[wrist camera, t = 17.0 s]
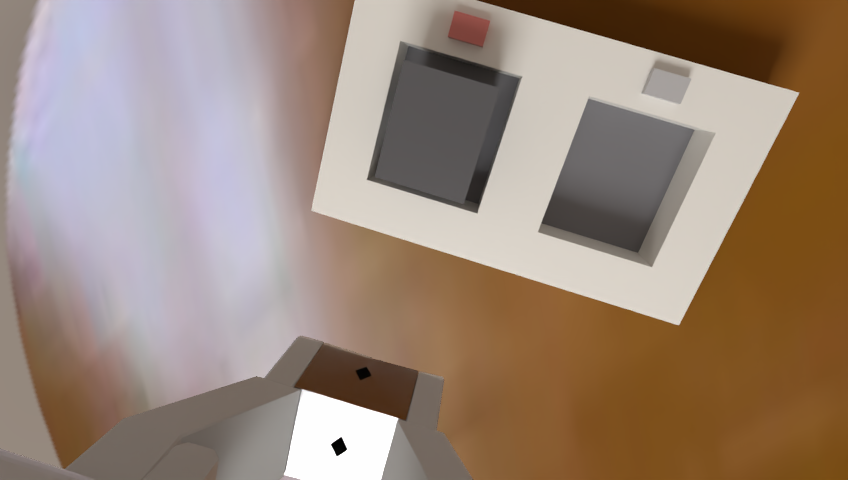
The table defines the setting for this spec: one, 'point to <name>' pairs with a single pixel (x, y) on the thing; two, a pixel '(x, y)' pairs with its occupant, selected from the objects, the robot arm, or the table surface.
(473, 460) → the table surface
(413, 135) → the plug
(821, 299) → the table surface
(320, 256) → the table surface
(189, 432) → the robot arm
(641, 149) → the socket board
